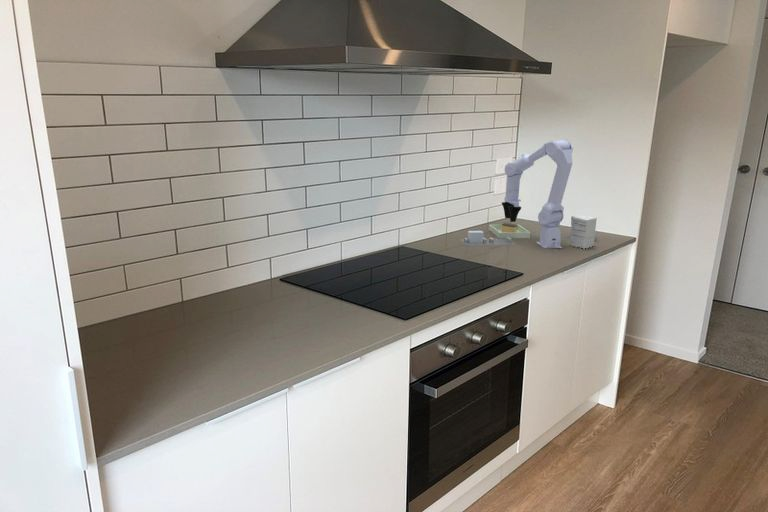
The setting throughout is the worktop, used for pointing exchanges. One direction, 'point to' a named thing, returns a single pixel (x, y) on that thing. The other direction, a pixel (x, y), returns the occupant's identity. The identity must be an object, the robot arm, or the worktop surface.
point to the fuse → (475, 236)
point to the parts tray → (519, 234)
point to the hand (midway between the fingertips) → (510, 219)
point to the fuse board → (490, 241)
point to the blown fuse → (509, 227)
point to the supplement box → (583, 231)
